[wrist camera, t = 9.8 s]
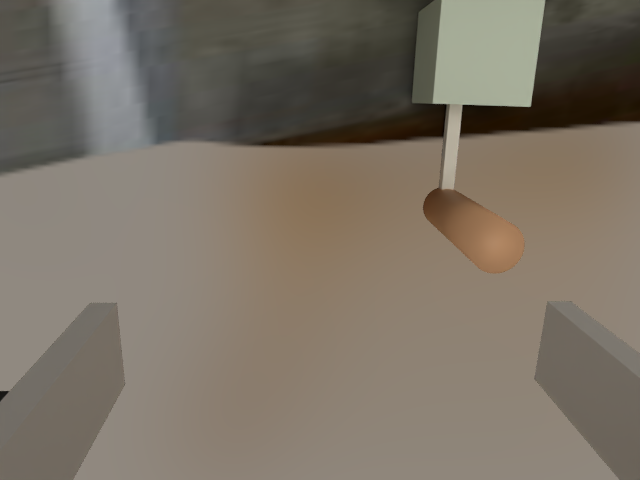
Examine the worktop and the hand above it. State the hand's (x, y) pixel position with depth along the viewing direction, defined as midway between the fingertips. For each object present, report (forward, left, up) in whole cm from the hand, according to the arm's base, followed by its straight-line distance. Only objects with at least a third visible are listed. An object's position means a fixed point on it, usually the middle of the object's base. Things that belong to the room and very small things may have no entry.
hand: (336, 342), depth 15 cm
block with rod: (+10, +6, -23) cm, 26 cm away
